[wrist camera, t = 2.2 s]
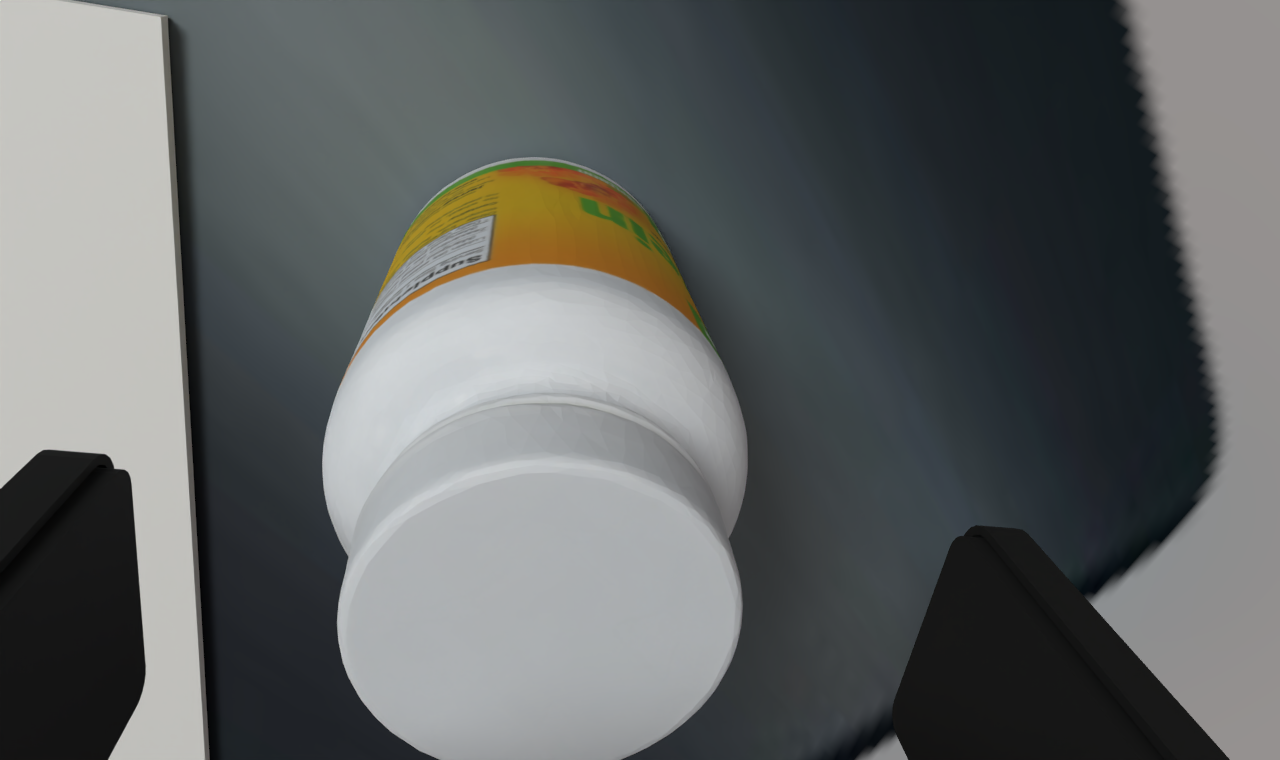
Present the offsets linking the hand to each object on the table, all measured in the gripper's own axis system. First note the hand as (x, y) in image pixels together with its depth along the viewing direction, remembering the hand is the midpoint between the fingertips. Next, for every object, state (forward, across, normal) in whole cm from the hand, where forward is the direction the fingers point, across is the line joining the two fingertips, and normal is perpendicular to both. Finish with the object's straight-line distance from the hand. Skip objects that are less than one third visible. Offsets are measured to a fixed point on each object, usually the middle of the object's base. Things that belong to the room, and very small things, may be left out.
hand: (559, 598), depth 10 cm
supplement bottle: (+8, 0, -1) cm, 9 cm away
